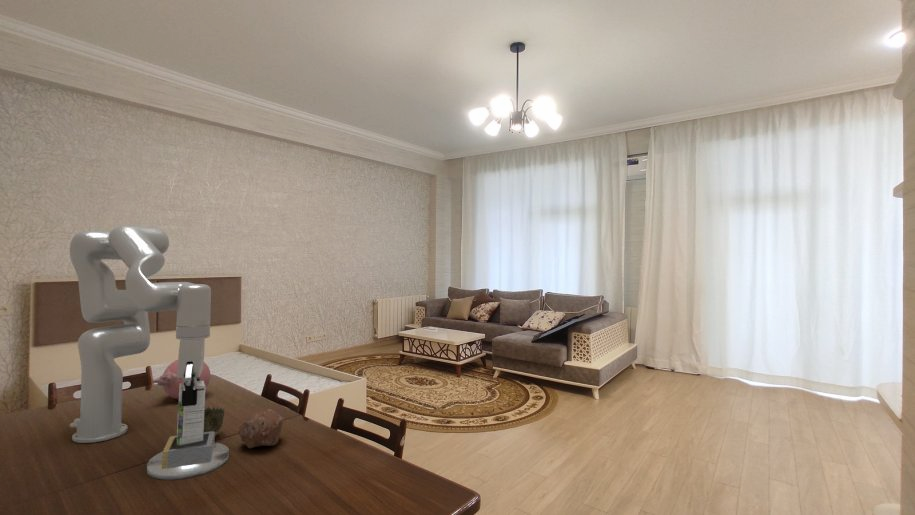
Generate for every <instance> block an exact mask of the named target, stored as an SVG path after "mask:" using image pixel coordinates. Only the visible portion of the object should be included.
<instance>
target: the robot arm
mask: <svg viewBox="0 0 915 515" xmlns="http://www.w3.org/2000/svg"><path fill="white" fill-rule="evenodd" d="M169 246H170V239H169V236H168V235H167V233H166V232H165V230H163V229H161V228H159V227H156V226H155V227H154V226H145V225H144V226H141V225H131V224H128V225H127V224H126V225H119V226H116V227H115V228H113V229H112V230H83V231H81V232H78V233H76V234H75V235H74V236H73V237H72V239H71V241H70V244H69V258H70V260H71V264H72V265H73V268H74V270H75V273H76V276H77V280H78V290H79V301H80V309H81V314H82V315H81V316H82V318H83V319H84V321H86V322H88V323H91V324H92V323H94V324H98V323H99V324H100V323H110V322H111V323H112V322H120V321H123V323H124V324H120V325H111V326H109V325H108V326H101V327H95V328H91V329H88V330H87V331H84V332H83V333H82V334H81V335H80V336H79V338H78V340H77V349H78V354H79V360H80V373H81V374H80V379H81V380H80V408H79V409H80V411H79V414H80V416H79V417H77V418H75V419H74V420H73V422H71V423H70V424H69V428H76V431H75V432H74V433H73V434H72V436H71V437H72V438H71V439H72V441H73V442H74V443H78V444H91V443H98V442H103V441H108V440H112V439H114V438H117V437H120V436H121V435H124V434H125V433H126V432H128V429H129V427H128V425H127V424H126V423H123V422H122V412H123V406H122V405H123V382H124V381H123V377H124V375H123V373H124V372H123V370H122V368H121V367H120V365H119V364H117V362H116V361H115V359H117V358H122V357H127V356H128V357H129V356H133V355H138V354H141V353H144V352H146V351H147V350H148V348H149V347H150V343H151V328H150V321H149V313H162V312H170V311H174V312H175V311H176V323H175V324H176V326H175V328H176V329H175V333H176V334H175V340H179V345H178V346H179V348H178V357H177V360H178V370H177V378H178V379H181V378H182V377H183V375H184V381H183V390H182V406H192V405H196V404H197V389H196V381H200V374H201V372H202V370H203V363H204V362H205V341H206V340H205V339H208V338H210V335H211V310H212V309H211V308H212V306H211V304H212V302H211V300H212V288H211V286H209V285H208V284H206V283H205V284H204V283H193V282H189V281H169V282H166V281H165V282H163V281H162V282H152V281H150V280H149V279H148V278H151V277H152V276H154V275H156V274H157V273H159V271H161V270H162V269H163V267H164V265H165V263H166V262H165V260H166V258H165V256H164V254H165V253H166V252H167V251H168V249H169ZM103 260H116V261H118V260H119V261H120V260H121V261H122V262H123V264H124V265H125V266H127V268H128V270H127V272H126V275H125V279H124V280H125V281H124V283H125V284H124V285H125V289H118V288H117V286H116V285H117V284H116V277H115V273H114V272H113V270H112V269H111V268H110V266H109V265H107V264H106V263H105V262H104V261H103ZM193 381H194V382H193Z"/></svg>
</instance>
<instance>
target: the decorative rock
mask: <svg viewBox="0 0 915 515" xmlns="http://www.w3.org/2000/svg"><path fill="white" fill-rule="evenodd" d="M283 422H284V418H283V417H282V416H281V415H280V414H279V413H278V412H276V411H275V410H273V409H270V408H269V409H267V410H265V409H263V410H260V411H258V412H256V411H255V412H252V414H251V415H246V417H245V418H244V419H243V420H242V422H241V423H240V424H239V426H238V430H237V431H238V432H237V433H238V434H239V437H240V440H241V441H242V442H243V443H245V446H246V447H247V448H248V449H253V448H255V447H257V448H258V447H262V446H263V447H273V446H275V445H277V444H278V442H279V440H280V436H281V433H282V432H281V431H282V426H283Z"/></svg>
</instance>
